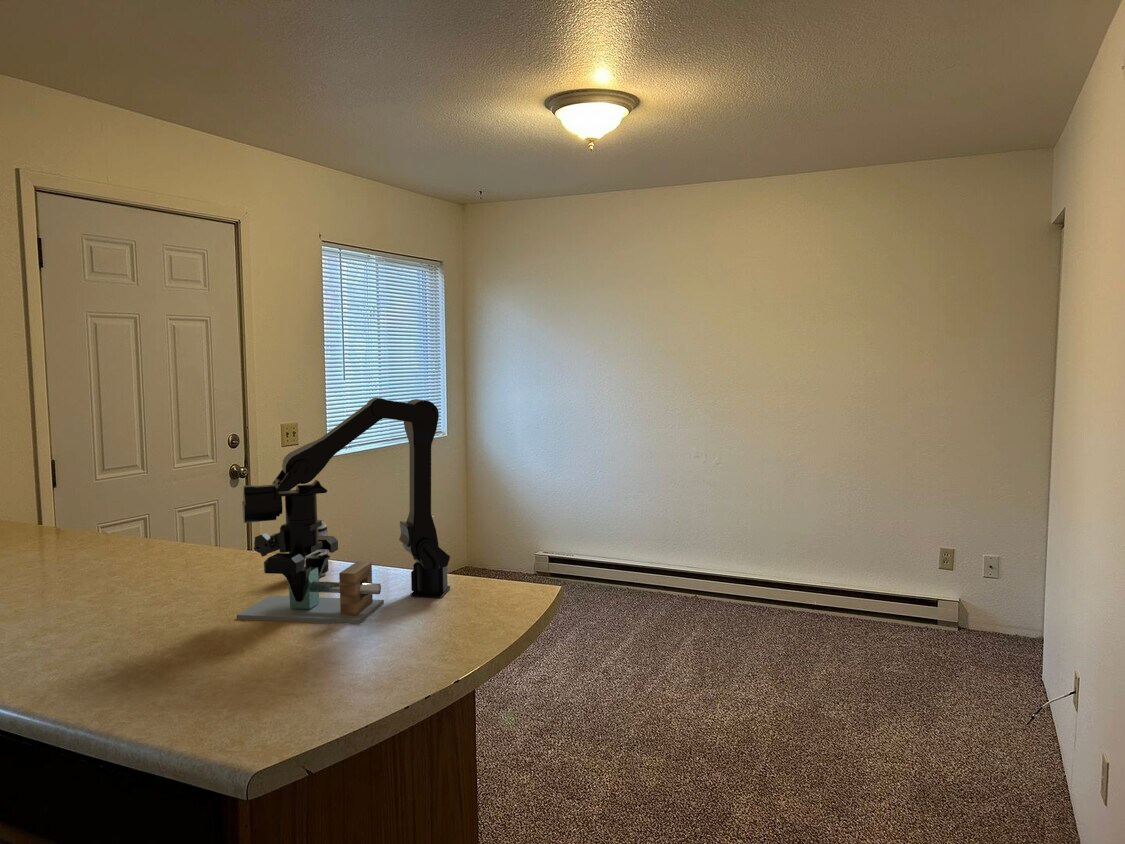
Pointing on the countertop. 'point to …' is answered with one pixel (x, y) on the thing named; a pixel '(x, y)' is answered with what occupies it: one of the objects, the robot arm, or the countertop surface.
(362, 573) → the square wooden collar
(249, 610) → the base board
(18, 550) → the countertop surface
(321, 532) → the beverage can
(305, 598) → the green cube on rod
